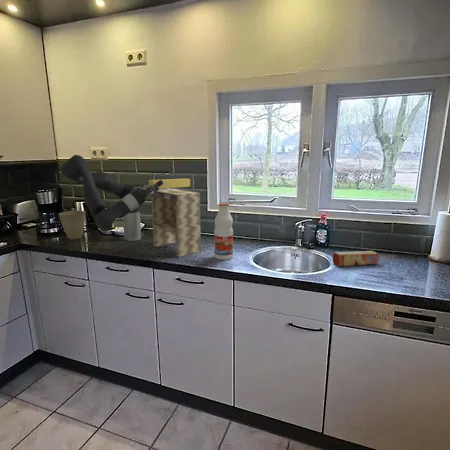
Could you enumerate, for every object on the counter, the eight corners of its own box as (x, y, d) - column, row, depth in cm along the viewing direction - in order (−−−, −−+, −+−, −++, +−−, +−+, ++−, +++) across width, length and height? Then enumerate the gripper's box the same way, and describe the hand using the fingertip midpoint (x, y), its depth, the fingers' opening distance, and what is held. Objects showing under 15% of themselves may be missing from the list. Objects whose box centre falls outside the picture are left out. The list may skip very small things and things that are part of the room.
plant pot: (82, 233, 208) (80, 209, 204) (91, 238, 197) (89, 213, 194) (58, 237, 198) (55, 212, 195) (65, 242, 187) (63, 216, 184)
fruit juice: (232, 254, 167) (232, 202, 161) (233, 260, 158) (234, 204, 152) (214, 254, 167) (214, 201, 161) (214, 260, 158) (214, 204, 152)
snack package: (370, 261, 159) (371, 248, 157) (378, 265, 152) (380, 252, 151) (331, 263, 155) (332, 250, 154) (338, 268, 149) (339, 254, 147)
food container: (134, 231, 214) (133, 217, 212) (130, 234, 208) (129, 219, 206) (116, 231, 215) (115, 216, 213) (112, 233, 209) (111, 218, 207)
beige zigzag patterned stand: (174, 241, 191) (172, 188, 184) (200, 251, 172) (200, 192, 165) (151, 246, 181) (149, 190, 174) (177, 257, 162) (175, 195, 155)
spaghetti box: (185, 185, 172) (185, 178, 171) (190, 186, 169) (190, 179, 168) (149, 188, 157) (148, 180, 156) (153, 188, 154) (152, 180, 153)
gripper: (135, 195, 143) (163, 175, 151) (122, 192, 154) (149, 174, 162) (143, 209, 147) (170, 188, 155) (130, 205, 158) (156, 186, 165)
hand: (159, 181), depth 158 cm, fingers closed on spaghetti box, 4 cm apart
